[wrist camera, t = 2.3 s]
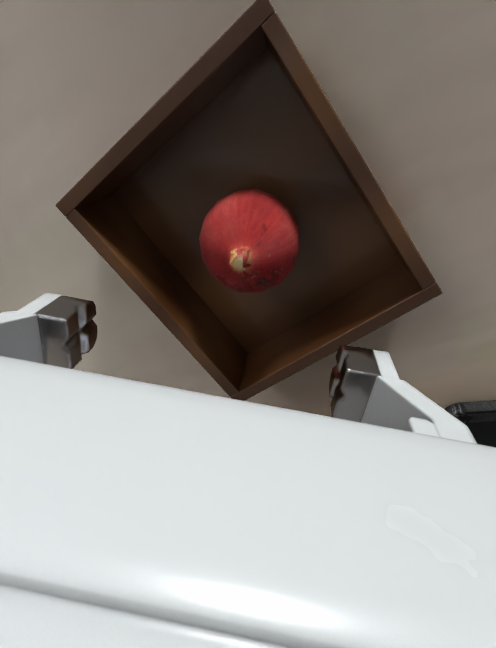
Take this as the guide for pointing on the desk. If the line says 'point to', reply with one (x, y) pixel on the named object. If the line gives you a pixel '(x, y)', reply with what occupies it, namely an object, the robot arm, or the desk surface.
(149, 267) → the wooden box
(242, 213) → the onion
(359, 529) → the robot arm
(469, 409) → the phone
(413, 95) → the desk surface
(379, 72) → the desk surface
